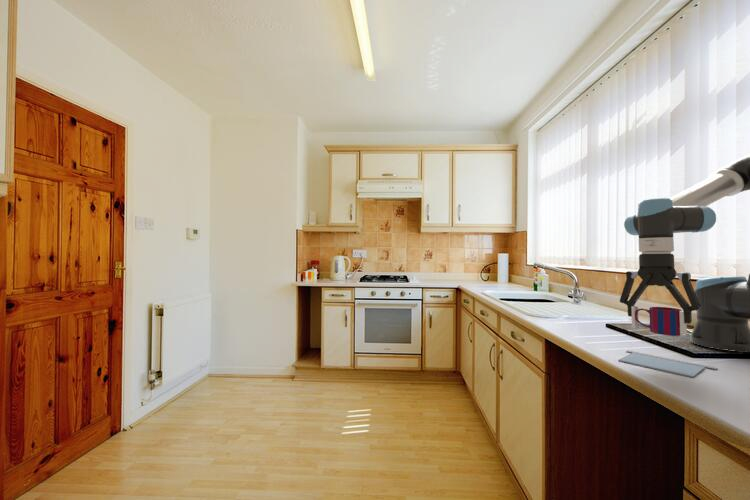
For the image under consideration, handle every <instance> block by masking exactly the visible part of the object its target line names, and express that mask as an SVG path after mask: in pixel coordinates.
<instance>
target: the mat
mask: <svg viewBox="0 0 750 500" xmlns="http://www.w3.org/2000/svg"><path fill="white" fill-rule="evenodd" d="M617 361H618V362H620V361H621V362H622V363H625V364H630V365H634V366H638V365H639V367H643V366H644V368H647V367H648V369H652V370H656V371H661V372H665V373H670V374H675V375H679V376H683V377H689V378H693V379H694V378H695V377H696V376H697V375H699V374H700V373H701V372H703V371H704V370H705V369H706V368H705V367H701V366H696V365H691V364H686V363H681V362H676V361H671V360H666V359H661V358H656V357H651V356H646V355H641V354H636V353H629V354H627V355H625V356H623V357H621V358H619V359H618V360H617Z"/></svg>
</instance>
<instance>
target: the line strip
mask: <svg viewBox="0 0 750 500" xmlns="http://www.w3.org/2000/svg"><path fill="white" fill-rule="evenodd" d="M625 353H629V354H631V353H636V354H641V355H646V356H651V357H656V358H661V359H666V360H671V361H676V362H681V363H686V364H691V365H696V366H701V367H705V369H709V370H715V371H717V370H718V369H719V368H718V367H716V366H709V365H705V364H700V363H694V362H689V361H684V360H680V359H674V358H670V357H663V356H658V355H655V354H654V355H653V354H649V353H643V352H639V351H633V350H629V349H628V350H626V352H625Z"/></svg>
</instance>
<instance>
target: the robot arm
mask: <svg viewBox="0 0 750 500" xmlns="http://www.w3.org/2000/svg"><path fill="white" fill-rule="evenodd" d="M746 191H750V154H748V155H745V156H743V157H741V158H738V159H736V160H735V161H732V162H731V163H729V164H727V165H725V166H723V167H720V168H719V169H717V170H715V171H713V172H712V173H711V174H710V175H709V176H708V178H706V179H705V180H703V181H700V182H699V183H697V184H695V185H693V186H692V187H690V188H687V189H686V190H683V191H681V192H679V193H678V194H676V195H674V196H672V197H670V198H669V197H655V198H654V197H653V198H648V199H643V200H641V201H639V202H638V205H637V212H636V213H632V214H630V215H628V216H627V217H625V219H624V222H623V226H624V227H623V228H624V229H625V231H626V232H627V234H629V235H631V236H638V251H639V255H638V264H639V265H638V266H639V269H638V270H637V271H634V270H629V271H628V270H627V271H626V272H625V275H626V276H625V277H626V280H625V282H624V285H623V289H622V291H621V292H622V293H621V295H620V298H619V302H620V303H621V304H624V305H626V306H627V316H628V317H631V329H633V330H636V329H638V328H639V325H640V324H639V323H638V322H637V321H636V319H635V312H636V310H638V309H639V305H636V303H637V302H638V300H639V299H640V297H641V296H642V294H644V292H645V291H646V290H647V288H648V287H649V286H652V287H653V286H657V287H658V286H659V287H664V288H666V289H667V291H669V293H670V294H671V296H672V297H673V298H674V299H675V301H676V302H677V304H678V305H679V307H680V308H681V310H682V311H679V313H680V337H685V336H687V335H688V326H687V324H690V325H691V324H692V312H693V311H696V322H695V324H694V327H693V330H692V331H691V333H690V336H689V337H690V338H689V339H690V343H691V342H692V343H691V344H693V343H694V344H693V345H695V344H697V345H696V346H698V345H701V346H706V347H713V348H719V349H728V350H735V351H747V352H750V326H749V320H750V273H748V278H747V277H746V276H721V277H720V276H719V277H718V276H717V277H702V278H699V279H697V280H696V282H695V289H694V286H693V284H692V282H691V276H692V275H691V274H692V273H690V272H677V271H676V269H675V255H674V253H672V252H674V251H675V247H674V246H675V245H674V244H675V243H674V242H675V241H674V234H677V233H679V234H680V233H702V232H708V231H709V230H711V229H712V228H713V227H714V226H715V224H716V222H717V215H716V212H715V211H714V210H713V209H712V208H711V207H709V206H710V205H711V204H713V203H715V202H717V201H719V200H721V199H722V198H725V197H732V196H735V195H737V194H739V193H741V192H746ZM638 276H639V279H641V280H642V281H641V282H640V283H639V285H638V286H637V288H636V289H635V291H634V293H633V294H632V295H631V296H630V294H631V291H632V289H633V285H634V283H635V279H636V278H637V277H638ZM675 278H678V280H679V281H681V284H682V286H683V289H684V291H685V294H686V296H687V298H688V301H689V303H690V304H689V303H688V301H687V300H686V298H685V297H684V296H683V295H682V293H681V292H680V291H679V289H678V288H677V286H676V284H674V282H673V280H674V279H675ZM637 318H638V319H639V312H638V313H637ZM701 346H700V347H701Z"/></svg>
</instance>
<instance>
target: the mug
mask: <svg viewBox="0 0 750 500" xmlns="http://www.w3.org/2000/svg"><path fill="white" fill-rule="evenodd" d="M682 310H683V309H682V308H681V309H680V308H674V307H666V306H650V307H649V309H646V308H638V310H636V312H635V319H636V321H637V322H638V324H639V325H640V326H643V327H645V328H649V331H650V333H653V334H655V335H656V334H657V335H661V336H662V335H663V336H670V337H674V336H675V337H676V336H677V337H679V336H680V313H679V311H682ZM639 311H645V312H646V313H648V314H649V325H648V324H645V323H643V322H641V321H640V320H639V317H638V318H637V313H638V314H639ZM680 337H681V336H680Z"/></svg>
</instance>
